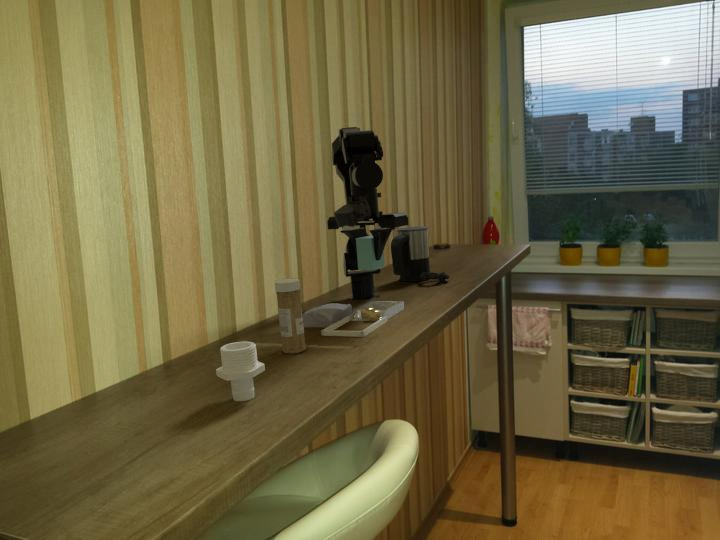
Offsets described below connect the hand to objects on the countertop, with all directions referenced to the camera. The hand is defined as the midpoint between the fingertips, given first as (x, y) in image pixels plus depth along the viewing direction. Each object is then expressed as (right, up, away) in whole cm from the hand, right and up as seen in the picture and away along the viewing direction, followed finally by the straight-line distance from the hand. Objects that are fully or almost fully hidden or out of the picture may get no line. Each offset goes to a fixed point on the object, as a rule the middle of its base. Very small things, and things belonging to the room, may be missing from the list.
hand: (369, 260), depth 145 cm
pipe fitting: (-20, -22, -47) cm, 55 cm away
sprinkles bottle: (-14, -17, -23) cm, 33 cm away
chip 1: (0, -12, -3) cm, 13 cm away
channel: (+2, -12, -1) cm, 13 cm away
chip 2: (+1, -13, -5) cm, 14 cm away
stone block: (-10, -14, -2) cm, 18 cm away
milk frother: (+16, -5, +39) cm, 42 cm away
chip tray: (-3, -14, -12) cm, 19 cm away
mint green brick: (0, -2, +1) cm, 2 cm away
